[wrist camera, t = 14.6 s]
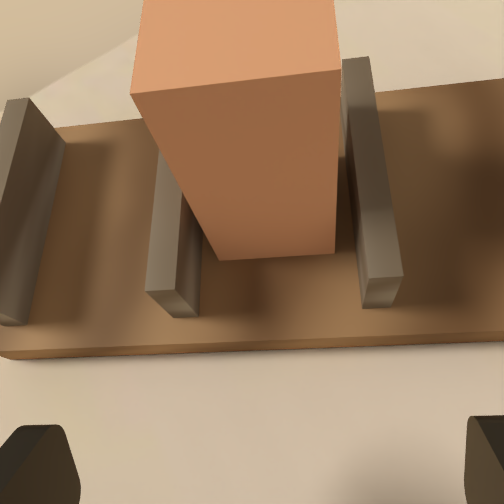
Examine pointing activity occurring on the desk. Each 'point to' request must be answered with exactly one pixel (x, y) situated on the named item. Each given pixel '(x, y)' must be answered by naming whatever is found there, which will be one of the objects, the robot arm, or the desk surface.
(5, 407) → the desk surface
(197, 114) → the terracotta block
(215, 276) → the walnut rack
